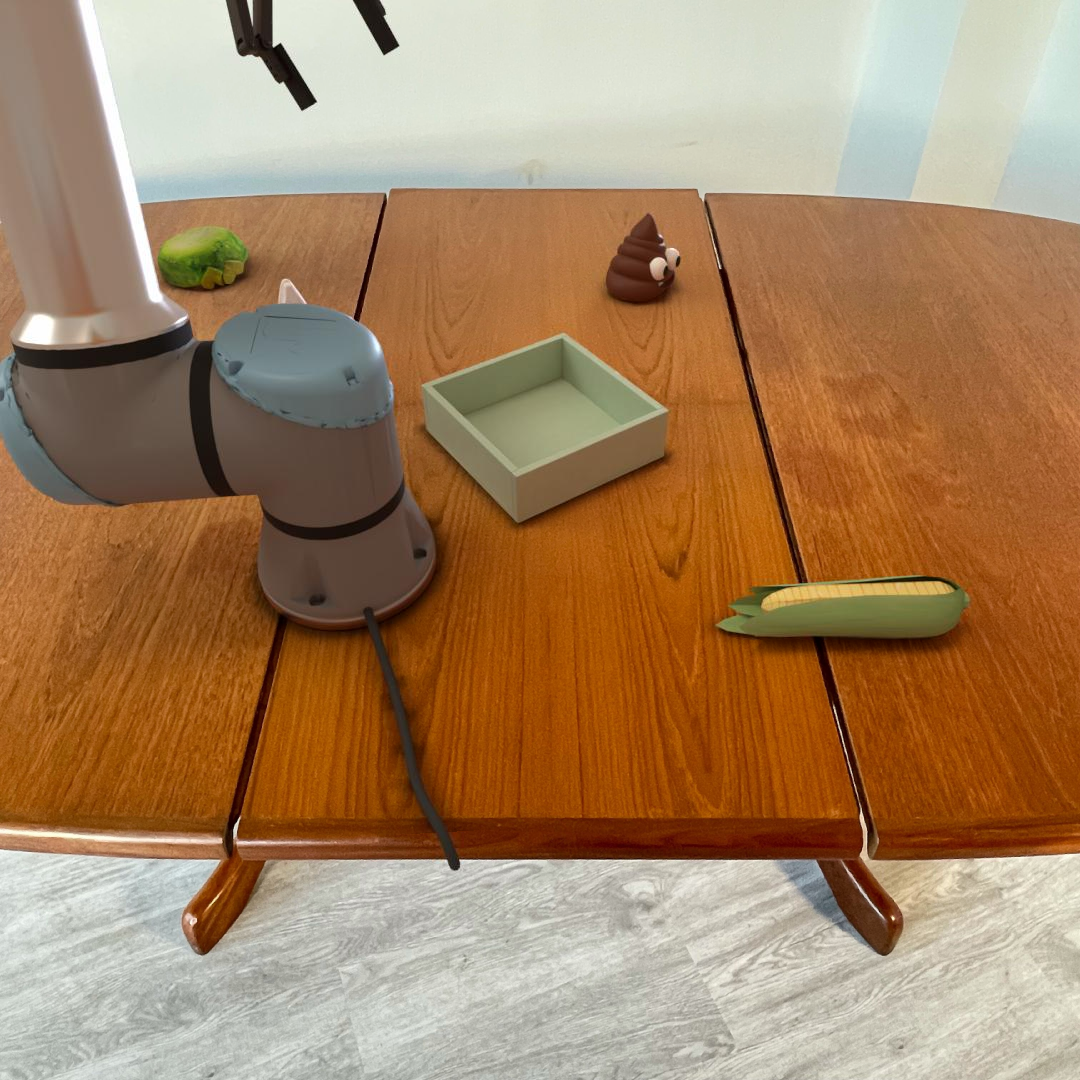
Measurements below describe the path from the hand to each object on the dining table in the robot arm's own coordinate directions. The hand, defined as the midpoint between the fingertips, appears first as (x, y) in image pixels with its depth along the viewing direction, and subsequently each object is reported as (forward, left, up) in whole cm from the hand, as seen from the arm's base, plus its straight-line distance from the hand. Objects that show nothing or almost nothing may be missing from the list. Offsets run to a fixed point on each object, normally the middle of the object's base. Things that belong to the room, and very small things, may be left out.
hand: (351, 78), depth 101 cm
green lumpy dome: (+14, +19, -24) cm, 34 cm away
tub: (-43, +3, -24) cm, 49 cm away
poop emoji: (-23, -26, -24) cm, 42 cm away
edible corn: (-77, -3, -24) cm, 81 cm away
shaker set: (-18, +19, -24) cm, 36 cm away
